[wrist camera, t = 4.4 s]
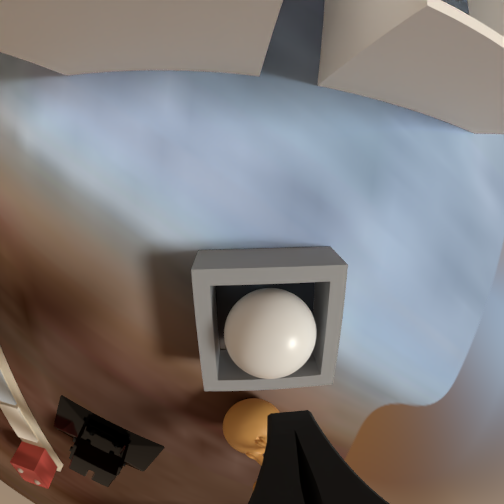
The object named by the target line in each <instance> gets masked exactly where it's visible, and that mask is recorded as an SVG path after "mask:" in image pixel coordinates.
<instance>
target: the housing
mask: <svg viewBox="0 0 504 504" xmlns="http://www.w3.org/2000/svg"><path fill="white" fill-rule="evenodd" d="M347 268H348V264H347V263H346V262H345V261H344V260H343V259H342V258H341V257H340V256H339V255H338V254H337V253H336V252H335V251H334V250H333V249H332V248H331V247H297V248H260V249H223V250H198V253H197V255H196V258H195V260H194V263H193V266H192V268H191V275H192V287H193V298H194V308H195V318H196V327H197V336H198V345H199V354H200V362H201V370H202V377H203V385H204V391H249V390H270V389H286V388H299V387H310V386H320V385H329V384H333V380H334V374H335V367H336V361H337V354H338V347H339V340H340V333H341V325H342V317H343V308H344V299H345V289H346V279H347ZM307 282H315V287H314V303H313V317H314V321H315V324H316V342H315V346H314V349H313V351H312V353H311V355H310V357H309V359H308V360H307V361H306V363H305V364H304V365H303V366H302V367H301V368H299V369H298V370H297V371H295V372H294V373H292V374H290V375H288V376H285V377H282V378H276V379H263V378H258V377H255V376H252V375H250V374H248V373H246V372H245V371H243V370H242V369H241V368H239V367H238V366H237V365H236V364H235V363H234V361H233V360H232V359H231V357H230V355H229V353H228V351H227V350H220V346H219V333H218V319H217V304H216V289H215V286H218V285H254V284H282V283H307Z"/></svg>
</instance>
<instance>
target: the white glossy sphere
mask: <svg viewBox="0 0 504 504" xmlns="http://www.w3.org/2000/svg"><path fill="white" fill-rule="evenodd" d="M224 340H225V345H226V348H227V351H228V353H229V355H230V357H231V359H232V360H233V361H234V363H235V364H236V365H237V366H238V367H239V368H241V369H242V370H243V371H245V372H246V373H248V374H250V375H252V376H255V377H258V378H263V379H276V378H282V377H285V376H288V375H290V374H292V373H294V372H295V371H297V370H298V369H299V368H301V367H302V366H303V365H304V364H305V363H306V361H307V360H308V359H309V357H310V355H311V353H312V351H313V349H314V346H315V342H316V324H315V321H314V317H313V315H312V313H311V311H310V309H309V308H308V306H307V305H306V304H305V303H304V302H303V301H302V300H301V299H300V298H299V297H297V296H296V295H294V294H293V293H291V292H288V291H286V290H282V289H278V288H263V289H258V290H255V291H252V292H250V293H248V294H247V295H245V296H243V297H242V298H241V299H240V300H239V301H238V302H237V303H236V304H235V305H234V306H233V307H232V309H231V310H230V312H229V314H228V316H227V319H226V322H225V328H224Z"/></svg>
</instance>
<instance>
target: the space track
mask: <svg viewBox="0 0 504 504" xmlns="http://www.w3.org/2000/svg"><path fill="white" fill-rule="evenodd" d="M0 407H1V409H2V411H3V413H4V414H5V416H6V418H7V420H8V421H9V423H10V425H11V426H12V428H13V429H14V431H15V433H16V434H17V436H18V437H20V438H21V440H22V442H21V443H20V445H19V447H18V449H17V450H16V452H15V454H14V456H13V458H12V459H11V461H10V463H11V464H12V465H13V467H14V468H15V469H16V470H17V472H18V473H19V474H20V475H21V477H22V478H23V479H24V480H25V481H28V482H30V483H33V484H36V485H38V486H41V487H44V488H47V489H48V488H49V486H50V484H51V481H52V479H53V477H54V474H55V472H56V470H57V471H61V469H62V467H63V464H62V463H61V461H60V460H59V458H58V457H57V455H56V454H55V452H54V450H53V449H52V447H51V446H50V444H49V443H48V441H47V439H46V438H45V436H44V434H43V433H42V431H41V429H40V428H39V426H38V424H37V422H36V420H35V419H34V417H33V415H32V413H31V411H30V409H29V408H28V406H27V404H26V402H25V400H24V398H23V396H22V394H21V392H20V390H19V388H18V386H17V383H16V381H15V379H14V377H13V375H12V373H11V370H10V368H9V366H8V363H7V361H6V359H5V356H4V354H3V351H2V349H1V346H0Z"/></svg>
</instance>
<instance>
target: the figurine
mask: <svg viewBox="0 0 504 504" xmlns="http://www.w3.org/2000/svg"><path fill="white" fill-rule="evenodd" d="M271 413H280V412H279V411H278V409H277V408H276V407H275V406H274V405H272V404H271V403H269V402H267V401H265V400H262V399H257V398H250V399H245V400H242V401H239V402H237V403H236V404H234V405H233V406H232V407H231V408H230V409H229V410H228V412H227V413H226V415H225V417H224V421H223V432H224V436H225V438H226V440H227V442H228V443H229V444H230V445H231V446H232V447H233V448H234V449H236V450H237V451H239V452H241V453H244V454H246V455H247V456H248V457H249V458H252V459H255V460H256V461H257V462H258V463H259V464H260V465H261V466H262V462H263V458H264V457H263V456H262V454H263V453H265V449H266V443H267V416H268V415H269V414H271ZM256 482H257V481H256ZM256 482H255V483H254V485H253V490H254V488H255V485H256Z"/></svg>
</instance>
